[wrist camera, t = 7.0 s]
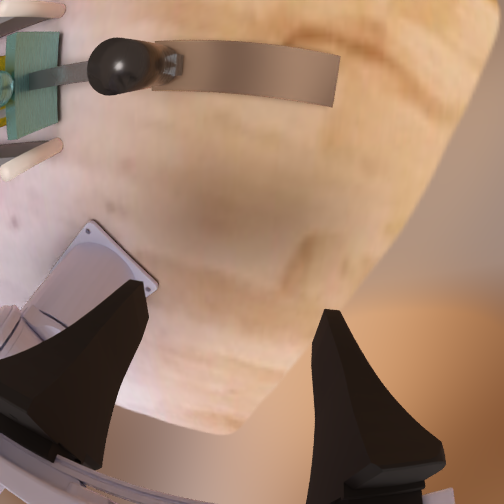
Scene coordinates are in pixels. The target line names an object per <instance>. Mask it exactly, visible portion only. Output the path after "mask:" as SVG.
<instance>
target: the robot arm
mask: <svg viewBox="0 0 504 504" xmlns="http://www.w3.org/2000/svg"><path fill="white" fill-rule="evenodd" d="M88 229H89V230H90V231H91V232H90V231H89V230H88ZM147 287H149V288H150V289H149V288H147ZM157 288H158V283H157V282H156V281H155V280H154V279H153V278H152V277H151V276H150V275H149V274H148V273H147V272H146V271H144V270H143V269H142V268H141V267H140V266H139V265H138V264H137V263H136V262H135V261H134V260H133V259H132V258H131V257H130V256H129V255H128V254H127V253H126V252H125V251H124V250H123V249H122V248H121V247H120V246H119V245H118V244H117V243H116V242H115V241H114V240H113V239H112V238H111V237H110V236H109V235H108V234H107V233H106V232H105V231H104V230H103V229H102V228H101V227H100V226H99V225H98V224H97V223H96V222H95V221H92V220H91V221H89V222H88V223H87V224H86V225H85V226H84V228H83V229H82V230H81V231H80V233H79V234H78V235H77V236H76V238H75V239H74V240H73V242H72V243H71V244H70V245H69V247H68V248H67V249H66V251H65V252H64V253H63V255H62V256H61V257H60V259H59V260H58V261H57V263H56V264H55V266H54V267H53V268H52V270H51V271H50V273H49V276H48V277H47V278H46V280H45V281H44V282H43V283H42V284H41V286H40V287H39V288H38V289H37V290H36V292H35V293H34V294H33V295H32V297H31V298H30V299H29V300H28V302H27V303H26V304H25V306H24V307H23V308H22V309H21V310H19V309H18V307H17V306H16V305H12V306H6V305H5V306H3V307H1V308H0V494H1V492H2V491H3V490H4V488H6V489H8V490H9V491H10V492H12V493H13V494H14V495H16V496H17V497H19V498H20V499H22V500H23V501H25V502H26V503H27V504H118V503H116V502H114V501H112V500H111V499H109V498H108V497H105V496H103V495H101V494H98V493H96V492H94V491H92V490H89V489H87V488H86V486H85V485H88V486H90V487H93V488H95V489H98V490H100V491H103V492H106V493H108V494H111V495H113V496H116V497H119V498H122V499H125V500H128V501H131V502H134V503H137V504H214V503H208V502H203V501H197V500H192V499H188V498H183V497H178V496H174V495H170V494H166V493H162V492H158V491H154V490H151V489H147V488H144V487H140V486H137V485H134V484H131V483H128V482H124V481H121V480H119V479H116V478H113V477H110V476H108V475H105V474H102V473H99V472H97V471H95V470H98V469H100V468H102V461H103V455H104V449H105V443H106V438H107V433H108V428H109V424H110V420H111V416H112V412H113V408H114V405H115V402H116V398H117V395H118V392H119V389H120V386H121V383H122V381H123V379H124V376H125V374H126V372H127V370H128V368H129V365H130V363H131V361H132V359H133V357H134V355H135V353H136V350H137V348H138V346H139V344H140V342H141V340H142V337H143V334H144V331H145V328H146V325H147V322H148V319H149V315H148V309H147V303H146V297H148V296H149V295H150V294H152V293H153V292H155V291H156V290H157ZM311 361H312V362H311V367H312V381H313V394H314V407H315V431H314V446H313V458H312V467H311V475H310V482H309V489H308V495H307V500H306V504H455V500H454V492H453V488H448V489H444V490H440V491H436V492H432V493H429V494H425V495H423V496H422V491H421V490H422V489H424V488H425V481H424V480H425V479H427V478H429V477H430V476H432V475H434V474H436V473H437V472H439V471H440V470H442V469H443V468H444V467H445V465H446V460H445V454H444V449H443V446H442V442H441V441H440V440H438V439H437V438H436V437H435V436H433V435H432V434H431V433H429V432H428V431H427V430H426V429H425V428H423V427H422V426H421V425H420V424H419V423H418V422H417V421H416V420H415V419H414V418H412V416H411V415H409V413H407V412H406V410H405V409H404V408H403V407H402V406H401V405H400V404H399V403H398V402H397V401H396V399H395V398H394V397H393V396H392V395H391V394H390V392H389V391H388V390H387V389H386V387H385V386H384V385H383V383H382V382H381V381H380V379H379V378H378V376H377V375H376V373H375V372H374V370H373V369H372V367H371V366H370V365H369V363H368V361H367V359H366V358H365V356H364V354H363V353H362V351H361V350H360V348H359V346H358V344H357V343H356V340H355V339H354V337H353V335H352V333H351V331H350V329H349V328H348V326H347V324H346V322H345V320H344V318H343V316H342V314H341V312H340V311H339V310H330V309H324V312H323V314H322V317H321V320H320V323H319V326H318V328H317V331H316V334H315V336H314V339H313V342H312V360H311Z"/></svg>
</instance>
